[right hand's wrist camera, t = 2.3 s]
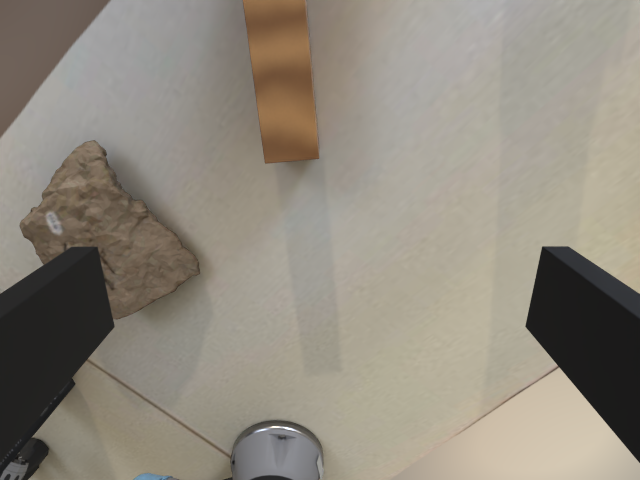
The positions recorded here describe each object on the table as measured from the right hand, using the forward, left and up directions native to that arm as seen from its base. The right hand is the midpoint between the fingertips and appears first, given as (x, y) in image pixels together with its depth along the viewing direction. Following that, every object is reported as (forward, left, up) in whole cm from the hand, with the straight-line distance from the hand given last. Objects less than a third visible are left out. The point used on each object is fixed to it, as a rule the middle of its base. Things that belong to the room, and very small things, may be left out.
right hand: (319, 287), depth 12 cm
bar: (+2, +10, -41) cm, 42 cm away
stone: (-29, +5, -41) cm, 51 cm away
